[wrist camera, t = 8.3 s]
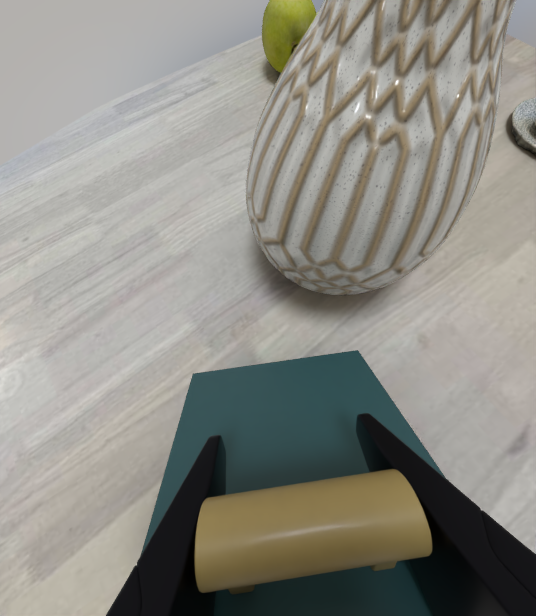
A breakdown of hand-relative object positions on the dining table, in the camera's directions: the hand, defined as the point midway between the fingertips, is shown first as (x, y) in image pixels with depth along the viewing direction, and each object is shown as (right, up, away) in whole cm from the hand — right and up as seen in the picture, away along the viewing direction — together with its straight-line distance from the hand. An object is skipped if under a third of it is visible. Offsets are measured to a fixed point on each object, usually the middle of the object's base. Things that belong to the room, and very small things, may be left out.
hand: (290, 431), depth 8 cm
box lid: (0, -2, +2) cm, 3 cm away
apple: (+2, +42, +29) cm, 50 cm away
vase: (+6, +11, +18) cm, 21 cm away
